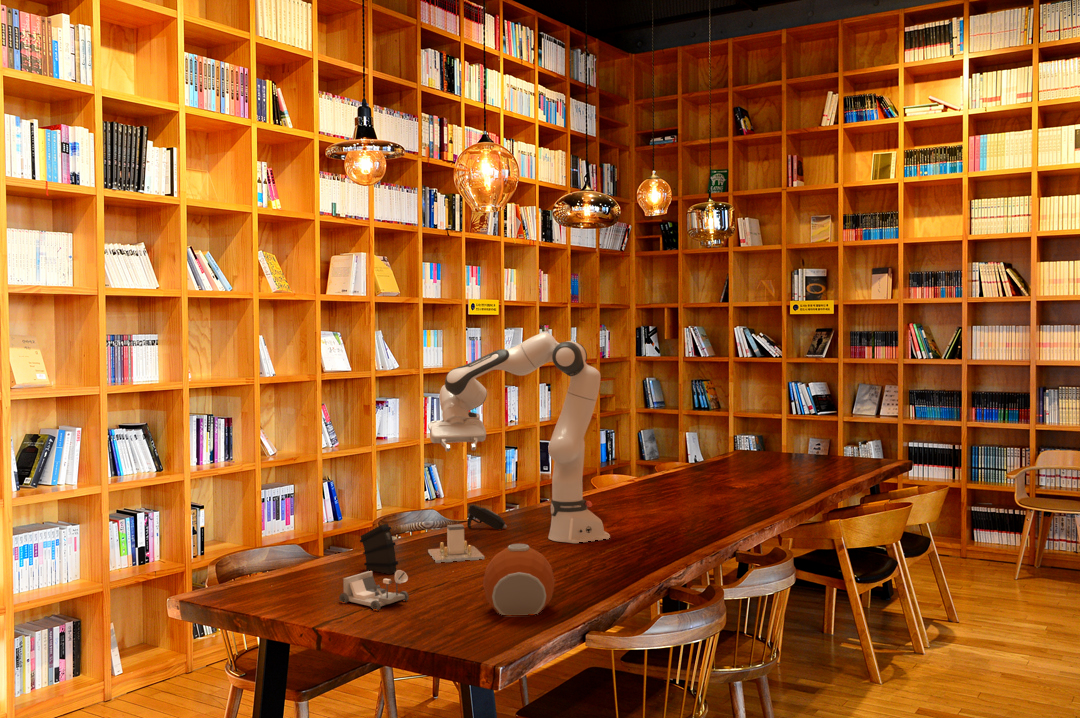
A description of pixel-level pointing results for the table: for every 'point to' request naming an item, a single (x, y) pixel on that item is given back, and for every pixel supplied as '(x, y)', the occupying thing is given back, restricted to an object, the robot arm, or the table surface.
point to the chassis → (444, 556)
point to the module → (455, 539)
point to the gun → (485, 517)
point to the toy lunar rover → (372, 590)
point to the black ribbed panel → (379, 550)
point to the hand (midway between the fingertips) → (461, 449)
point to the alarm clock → (518, 581)
